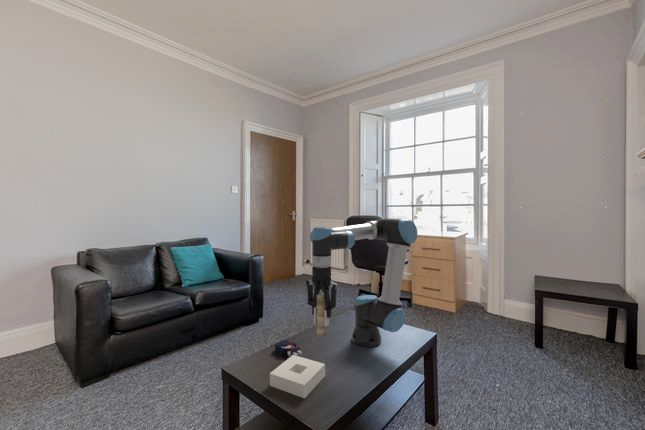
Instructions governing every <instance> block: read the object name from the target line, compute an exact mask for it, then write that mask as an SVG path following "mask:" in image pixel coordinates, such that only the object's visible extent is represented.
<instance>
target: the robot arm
mask: <svg viewBox="0 0 645 430" xmlns="http://www.w3.org/2000/svg"><path fill="white" fill-rule="evenodd" d="M309 239H310V242H311V246H312V250H311V252H312V253H311V254H312V257H311V258H312V259H311V261H312V267H311V270H312V271H311V272H312V273H311V275H312V278H311V279H307V280H305V284H306V287H307V288H306V291H307V292H306V293H307V305H308V306H311V310H312V311H311V313H312V315H313V325H317V294H319V293H321V292H320V291H322V293H324V299H325V305H326V309H325V310H324V326H325V327H326V326H327V327H328V326H329V325H330V318H331V317H332V310H333V309H335V308H336V306H337V289H338V286H339V283H337V282H333V281H332V280H333V279H332V278H331V277H332V267H331V265H332V251H334V250H336V251H337V250H347V249H349V248H350V249H351V248H352V247H353V246H354V245H355V242H356V241H359V240H364V239H368V240H380V241H386V245H387V247H388V251H387V256H386V263H385V270H384V277H383V283H382V290H381V296H379V297H378V296H377V295H374V294H364V295H359V296H356V298H355V300H354V301H355V302H354V303H355V304H354V319H355V320H354V322H355V323H354V328H353V332H352V334H351V341H352V343H354V344H355V345H356V346H359V347H364V348H365V347H366V348H373V347H376V346H379V345H381V343H382V335H381V332H380V329H382V330H384V331H386V332H390V333H397V332H398V331H399V330H401V328H402V327H403V326H404V324H405V322H406V312H405V310H404V309H403V308H402V307H403V304H402V302H401V300H400V298H401V297H400V295H401V291H402V290H401V289H402V285H403V284H402V283H403V277H404V271H405V264H406V258H407V257H406V256H407V251H408V250H409V249H411V246H412V244H414V243H416V240H417V239H418V229H417V226H416V224H415V222H414V221H413V220H411V219H407V218H390V217H389V218H379V219H375V220H367V221H366V222H365V223H361V224H360V223H359V224H352V225H345V226H335V227H330V226H329V227H328V226H315V227H314V228H312V231H310V234H309ZM330 289H331V290H330ZM379 328H380V329H379Z"/></svg>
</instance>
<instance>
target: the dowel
mask: <svg viewBox="0 0 645 430" xmlns="http://www.w3.org/2000/svg"><path fill="white" fill-rule="evenodd" d="M325 309H326V305H325V299H324V293H323V292H319V294H317V324H316V336H317V337H320V338H321V337H326V336H327V330H328V329H327V327H328V326H326V327H325V326H324V310H325Z"/></svg>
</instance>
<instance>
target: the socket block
mask: <svg viewBox="0 0 645 430" xmlns="http://www.w3.org/2000/svg"><path fill="white" fill-rule="evenodd" d="M325 377H326V363H323V362H319V361H315V360H313V359H309V358H306V357H302V356H300V355H298V356H296V355H292V356H289V357H288V358H287V359H286V360H284V361H283V362H282V363H281V364H280V365H279V366H276V368H275V369H274V370H272V371H271V372H269V386H270V387H272V388H275V389H278V390H280V391H283V392H285V393H286V392H287V393H289V394H292V395H293V396H294V395H295V396H297V397H300V398H302V399H306V397H307V396H309V395H310V393H311V392H312V391H313V390H314V389H315V388H316V387H317V386H318V384H319V383H320V382H321V381H323V379H324V378H325Z"/></svg>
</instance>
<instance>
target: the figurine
mask: <svg viewBox="0 0 645 430" xmlns="http://www.w3.org/2000/svg"><path fill="white" fill-rule="evenodd" d="M274 350H275V351H276V353H278V354H279V355H281V356H282V357H285V356H288V357H291V356H292V355H296V356H302V355H303V351H301V348H300V346H297V344H296V343H295V342H291V341H289V340H287V339H286V340H282V341H279V342H277V343H276V344H275V346H274Z"/></svg>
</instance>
